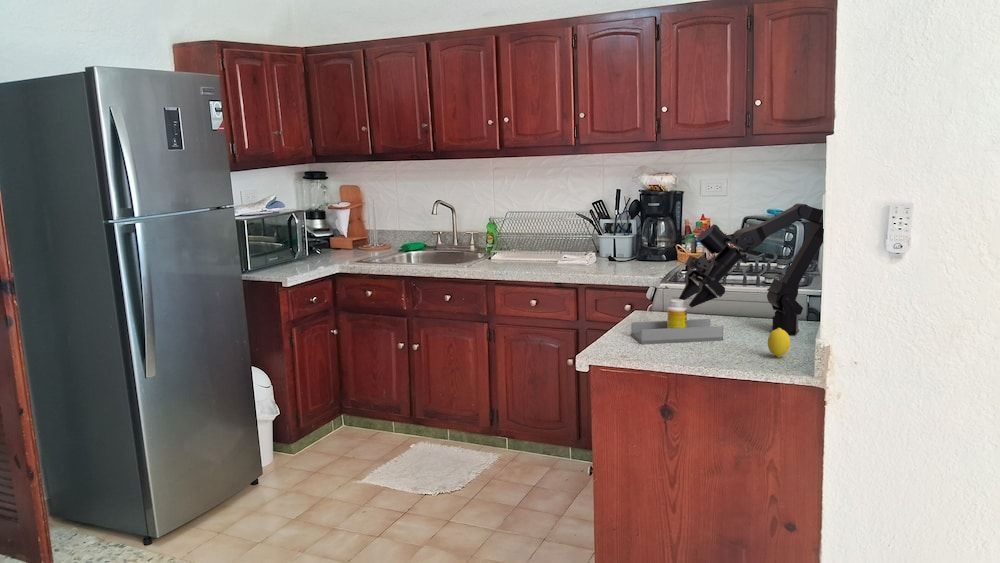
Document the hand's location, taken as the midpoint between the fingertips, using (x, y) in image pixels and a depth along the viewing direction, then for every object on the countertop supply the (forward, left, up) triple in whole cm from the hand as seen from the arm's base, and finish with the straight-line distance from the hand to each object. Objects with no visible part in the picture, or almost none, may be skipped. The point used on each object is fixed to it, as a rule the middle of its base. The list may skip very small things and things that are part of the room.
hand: (684, 303), depth 229 cm
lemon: (-29, +11, -10) cm, 33 cm away
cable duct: (+2, +1, -10) cm, 10 cm away
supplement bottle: (+2, +1, -9) cm, 10 cm away
